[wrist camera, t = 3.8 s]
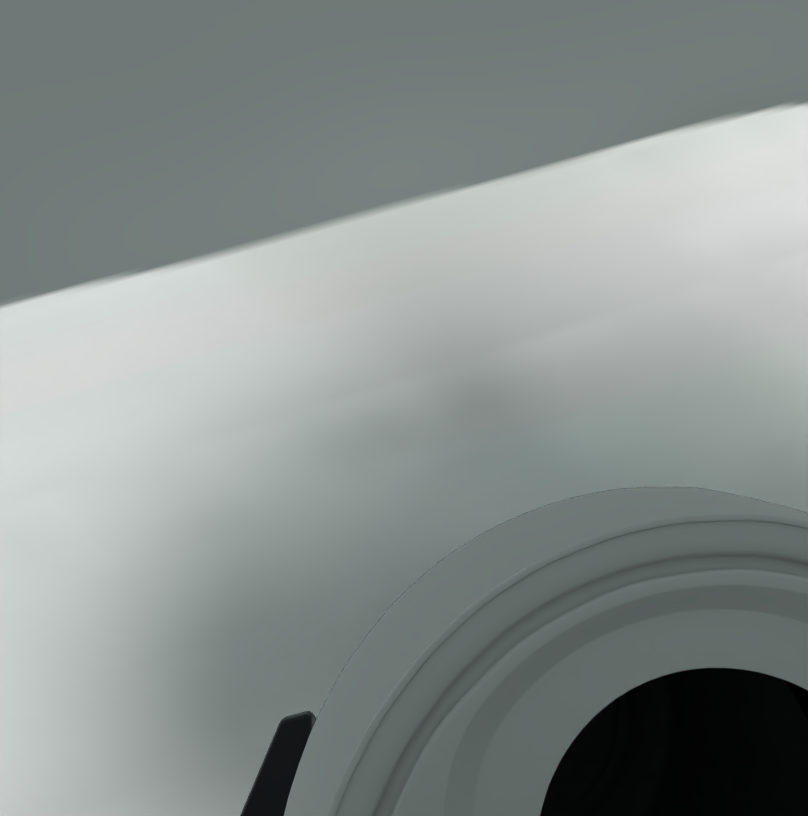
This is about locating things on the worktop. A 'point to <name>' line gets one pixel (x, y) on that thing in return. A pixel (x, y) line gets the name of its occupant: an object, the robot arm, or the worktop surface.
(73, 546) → the worktop surface
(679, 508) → the beverage can
